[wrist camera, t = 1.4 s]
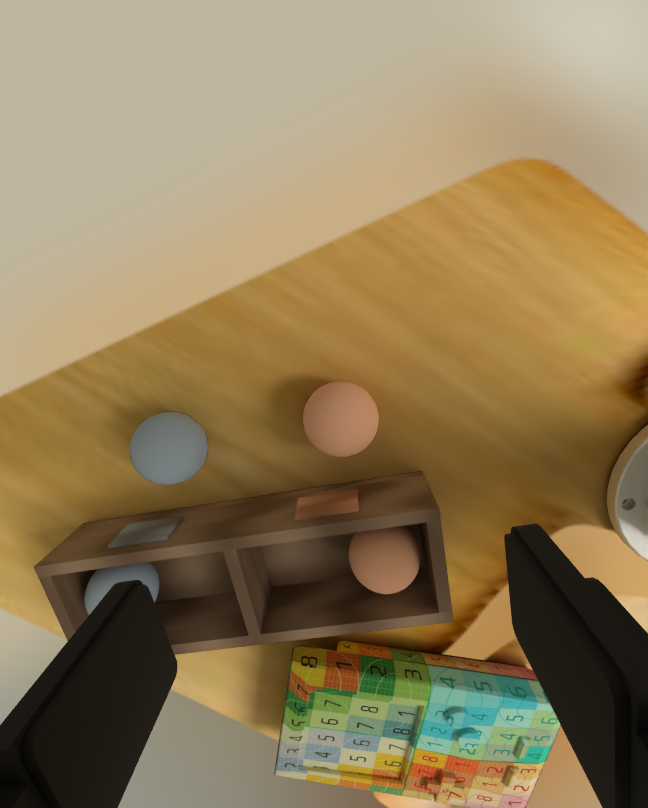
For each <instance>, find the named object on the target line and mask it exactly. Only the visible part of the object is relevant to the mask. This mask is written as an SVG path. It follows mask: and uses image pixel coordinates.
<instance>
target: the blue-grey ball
mask: <svg viewBox="0 0 648 808" xmlns="http://www.w3.org/2000/svg"><path fill="white" fill-rule="evenodd" d="M131 580H140V581H141V582H142V583H143V584H144V585H147V586H148V588H149V590H150V592H151V595H152V598H153V600H154V603H155V601H156V598H157V595H158V591H159V577H158V573H157V571H156V569H155V567H154V566H153V565H152V564H151V563H150V562H144V563H137V564H130V565H123V566H116V567H109V568H102V569H98V570H97V571H96V572H95V573H94V574H93V576H92V577H91V579H90V581H89V583H88V585H87V588H86V592H85V607H86V610H87V612H88V614H89V615H90V613H91V612H92V611H93V610H94V608H95V607H96V606H97V605H98V603H99V602H100V601H101V600H102V599H103V597H104V596H105V595H106V594H107V592H108V591H109V590H110V589H111V587H112V586H113V585H114V584H116V583H118V582H124V581H131Z"/></svg>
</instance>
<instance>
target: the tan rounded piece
mask: <svg viewBox="0 0 648 808" xmlns="http://www.w3.org/2000/svg"><path fill="white" fill-rule="evenodd" d="M349 561H350V565H351V568H352V571H353V573H354V575H355V576H356V578H357V579H358V580H359V582H360V583H361V584H362V585H364V586H365V587H366V588H368V589H369V590H371V591H373V592H376V593H381V594H393V593H397V592H399V591H402V590H403V589H405V588H406V587H408V586H409V585H410V584H411V583H412V581H413V580H414V579H415V577H416V575H417V573H418V570H419V566H420V551H419V547H418V544H417V541H416V539H415V538H414V536H413V534H412V533H411V532H410V531H409V530H408V529H407V528H406V527H405V526H397V527H390V528H383V529H376V530H369V531H362V532H355V534H354V536H353V538H352V540H351V543H350V547H349Z"/></svg>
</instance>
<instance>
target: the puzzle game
mask: <svg viewBox="0 0 648 808" xmlns="http://www.w3.org/2000/svg"><path fill="white" fill-rule="evenodd" d="M560 727H561V724H560V723H559V721H558V719H557V717H556V715H555V713H554V711H553V709H552V707H551V705H550V703H549V701H548V699H547V697H546V695H545V693H544V691H543V689H542V687H541V685H540V683H539V681H538V679H537V677H536V675H535V673H534V671H533V670H531V669H529V668H526V667H519V666H512V665H505V664H499V663H492V662H485V661H484V660H478V659H472V658H465V657H459V656H452V655H445V654H442V655H438V654H431V653H424V652H417V651H411V650H404V649H397V648H390V647H383V646H377V645H370V644H363V643H356V642H350V641H341V642H339V643H338V645H337V650H336V651H333V650H327V649H321V648H315V647H309V646H299V647H295V648H293V650H292V657H291V664H290V670H289V677H288V684H287V691H286V698H285V704H284V711H283V718H282V725H281V732H280V738H279V746H278V752H277V759H276V766H275V773H274V774H275V775H278V776H285V777H291V778H297V779H303V780H309V781H315V782H321V783H328V784H334V785H339V786H345V787H352V788H358V789H364V790H370V791H376V792H382V793H388V794H394V795H400V796H406V797H412V798H418V799H424V800H430V801H435V802H439V803H446V804H447V803H449V804H455V805H461V806H467V807H473V808H526V806H527V803H528V801H529V798H530V796H531V794H532V792H533V789H534V787H535V785H536V782H537V780H538V778H539V775H540V773H541V771H542V768H543V766H544V763H545V761H546V759H547V757H548V754H549V752H550V750H551V748H552V745H553V743H554V741H555V738H556V736H557V734H558V731H559V729H560Z"/></svg>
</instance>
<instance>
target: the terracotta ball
mask: <svg viewBox="0 0 648 808" xmlns="http://www.w3.org/2000/svg"><path fill="white" fill-rule="evenodd" d="M303 425H304V429H305V433H306V435H307V437H308V439H309V440H310V442H311V443H312V444H313V445H314V446H315V447H316V448H317V449H318V450H320V451H321V452H323V453H325V454H327V455H330V456H335V457H347V456H352V455H355V454H357V453H359V452H361V451H362V450H364V449H365V448H366V447H367V446H368V445H369V444H370V443H371V442H372V440H373V439H374V437H375V435H376V432H377V429H378V425H379V414H378V409H377V406H376V403H375V402H374V400H373V398H372V397H371V395H370V394H369V393H368V392H367V391H366V390H365V389H363V388H362V387H360V386H359V385H356V384H354V383H351V382H346V381H336V382H331V383H328V384H325V385H323V386H321V387H320V388H318V389H317V390H316V391H315V392H314V393H313V394H312V395H311V396H310V398H309V399H308V401H307V403H306V405H305V408H304V413H303Z"/></svg>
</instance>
